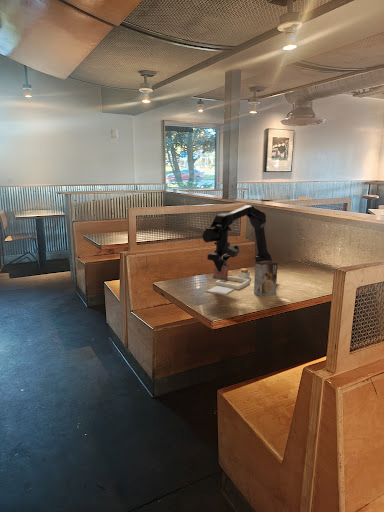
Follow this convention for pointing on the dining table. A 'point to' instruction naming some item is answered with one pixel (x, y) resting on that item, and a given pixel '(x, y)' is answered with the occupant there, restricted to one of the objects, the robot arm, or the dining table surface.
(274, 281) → the coffee box
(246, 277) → the holder
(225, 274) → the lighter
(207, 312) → the dining table surface
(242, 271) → the plunger
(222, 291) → the mat
